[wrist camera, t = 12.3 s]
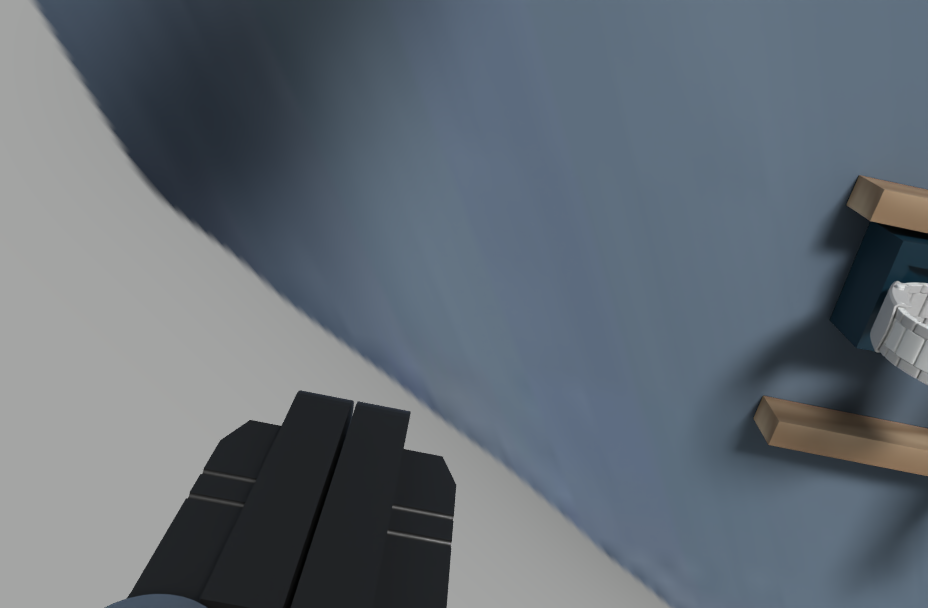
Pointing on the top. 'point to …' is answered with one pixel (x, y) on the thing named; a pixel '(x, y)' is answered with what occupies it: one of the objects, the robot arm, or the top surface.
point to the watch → (888, 298)
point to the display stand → (842, 429)
